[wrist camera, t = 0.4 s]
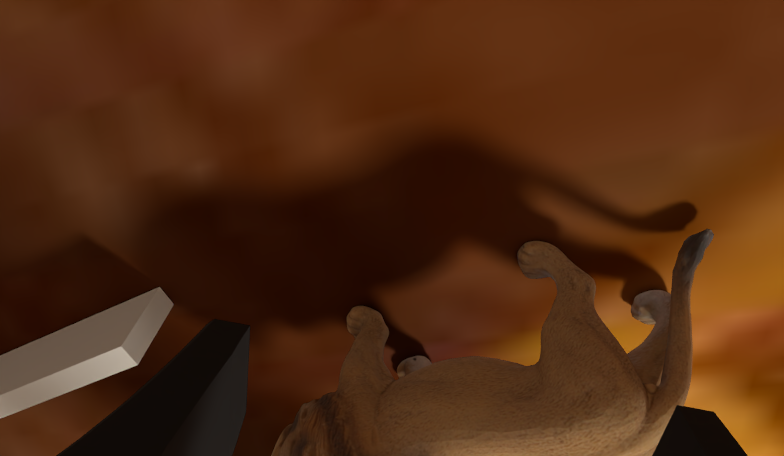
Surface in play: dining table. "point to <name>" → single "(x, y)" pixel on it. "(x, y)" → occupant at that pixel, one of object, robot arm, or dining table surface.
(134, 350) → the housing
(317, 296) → the dining table surface
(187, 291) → the dining table surface
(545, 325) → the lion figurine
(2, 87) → the dining table surface
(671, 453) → the robot arm
